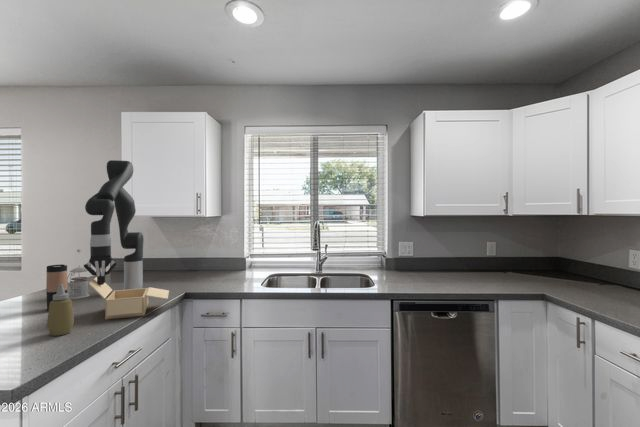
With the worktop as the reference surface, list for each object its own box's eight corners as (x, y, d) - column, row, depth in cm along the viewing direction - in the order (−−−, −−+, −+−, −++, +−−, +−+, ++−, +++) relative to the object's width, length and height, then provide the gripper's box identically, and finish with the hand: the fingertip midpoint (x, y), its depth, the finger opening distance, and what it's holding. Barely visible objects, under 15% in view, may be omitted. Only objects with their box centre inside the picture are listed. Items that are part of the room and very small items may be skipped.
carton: (114, 306, 160) (114, 289, 160) (148, 303, 166) (148, 287, 166) (104, 321, 139) (104, 301, 139) (143, 317, 144) (143, 298, 144)
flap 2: (149, 287, 163) (169, 290, 166) (149, 288, 163) (168, 291, 166) (145, 295, 147) (167, 298, 150) (145, 295, 147) (167, 299, 150)
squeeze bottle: (79, 329, 129) (79, 282, 129) (64, 337, 121) (64, 286, 121) (57, 329, 128) (57, 282, 128) (40, 337, 120) (40, 287, 120)
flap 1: (111, 290, 157) (97, 276, 155) (112, 289, 157) (98, 275, 155) (104, 299, 141) (87, 283, 139) (104, 298, 141) (88, 282, 139)
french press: (78, 299, 174) (78, 250, 174) (59, 298, 176) (59, 250, 176) (94, 294, 184) (94, 248, 184) (76, 293, 186) (76, 248, 186)
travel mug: (42, 312, 151) (42, 267, 151) (51, 307, 159) (51, 264, 159) (62, 310, 153) (62, 266, 153) (70, 306, 161) (70, 264, 161)
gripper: (119, 243, 154) (120, 281, 154) (84, 244, 149) (85, 284, 149) (116, 244, 147) (117, 284, 147) (80, 246, 142) (80, 287, 142)
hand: (101, 284), depth 148 cm, fingers closed
